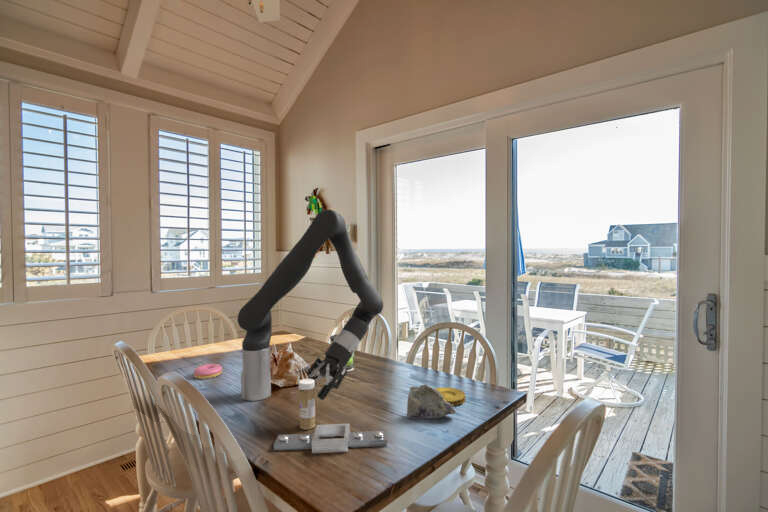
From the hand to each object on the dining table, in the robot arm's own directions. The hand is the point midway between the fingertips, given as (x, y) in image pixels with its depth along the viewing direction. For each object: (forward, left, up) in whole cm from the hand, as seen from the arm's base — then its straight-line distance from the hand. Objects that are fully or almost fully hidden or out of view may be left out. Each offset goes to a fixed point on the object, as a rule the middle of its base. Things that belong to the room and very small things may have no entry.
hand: (312, 394), depth 109 cm
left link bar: (-3, -11, -9) cm, 14 cm away
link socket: (+7, -11, -9) cm, 16 cm away
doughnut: (-51, +49, -9) cm, 72 cm away
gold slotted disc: (+43, +15, -9) cm, 46 cm away
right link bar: (+16, -11, -9) cm, 22 cm away
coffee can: (+5, +52, -9) cm, 53 cm away
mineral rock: (+35, +2, -9) cm, 36 cm away
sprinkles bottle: (-1, -1, -9) cm, 9 cm away
